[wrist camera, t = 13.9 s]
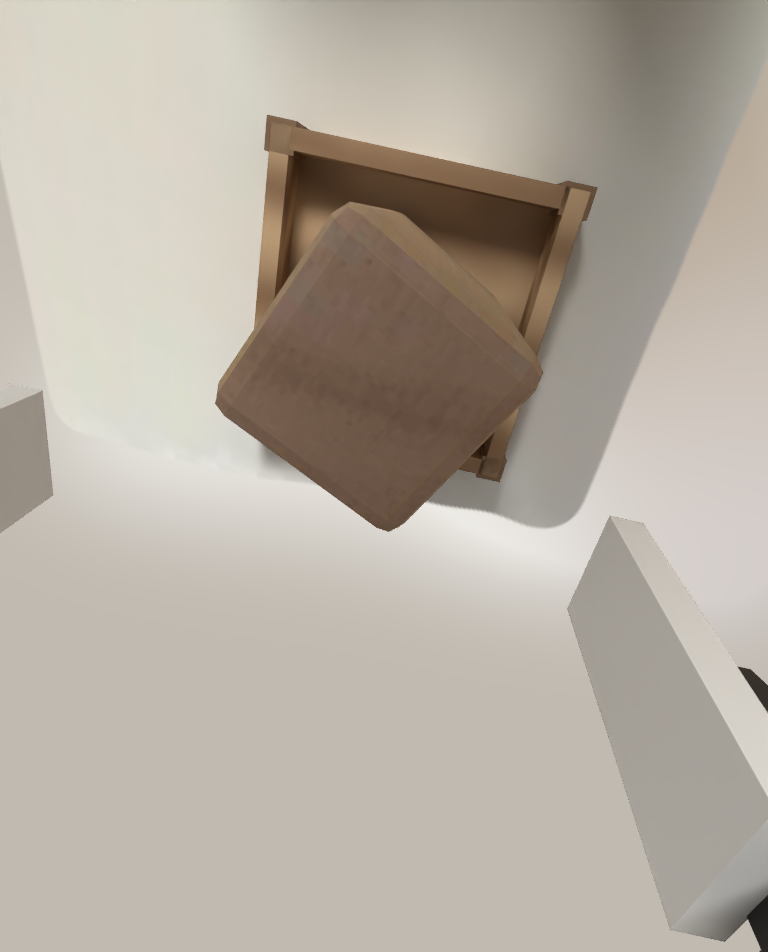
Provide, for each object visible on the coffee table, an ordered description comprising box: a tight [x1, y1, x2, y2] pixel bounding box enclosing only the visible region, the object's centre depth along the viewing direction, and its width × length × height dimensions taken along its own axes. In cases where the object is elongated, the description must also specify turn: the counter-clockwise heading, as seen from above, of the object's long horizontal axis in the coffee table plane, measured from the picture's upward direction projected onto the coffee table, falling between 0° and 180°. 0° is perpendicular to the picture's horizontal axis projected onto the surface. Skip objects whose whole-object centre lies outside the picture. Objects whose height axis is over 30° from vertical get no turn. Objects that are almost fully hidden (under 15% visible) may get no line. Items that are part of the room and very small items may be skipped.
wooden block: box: [215, 202, 543, 532], centre depth 29 cm, size 10×10×20 cm
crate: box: [254, 115, 598, 482], centre depth 37 cm, size 20×20×4 cm
